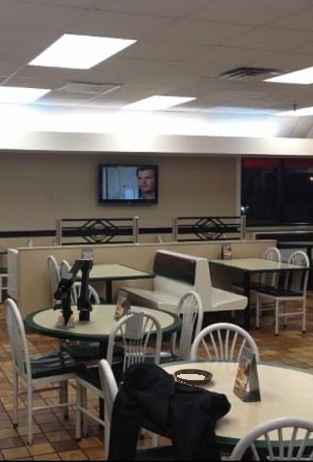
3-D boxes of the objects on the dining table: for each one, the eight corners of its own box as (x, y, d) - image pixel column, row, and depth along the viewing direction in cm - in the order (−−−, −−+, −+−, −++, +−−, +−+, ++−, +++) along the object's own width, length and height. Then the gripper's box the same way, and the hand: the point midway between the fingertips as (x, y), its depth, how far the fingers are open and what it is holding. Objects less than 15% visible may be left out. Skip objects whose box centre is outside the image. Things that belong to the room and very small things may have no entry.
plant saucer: (176, 386, 273) (176, 379, 272) (171, 374, 290) (171, 368, 290) (216, 386, 275) (216, 380, 274) (208, 375, 292) (208, 368, 292)
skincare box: (124, 338, 358) (125, 310, 357) (130, 335, 364) (131, 308, 363) (137, 340, 354) (138, 312, 353) (143, 337, 360) (144, 310, 359)
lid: (73, 324, 386) (73, 315, 386) (76, 328, 375) (76, 319, 375) (54, 324, 383) (54, 315, 382) (56, 328, 372) (57, 319, 371)
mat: (73, 324, 386) (73, 324, 386) (76, 329, 375) (76, 328, 375) (54, 325, 383) (54, 324, 383) (56, 329, 371) (56, 328, 371)
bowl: (72, 321, 397) (72, 315, 397) (74, 324, 388) (74, 318, 387) (57, 321, 394) (57, 315, 394) (59, 324, 385) (59, 318, 385)
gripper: (51, 295, 384) (50, 320, 385) (54, 301, 367) (53, 327, 367) (69, 295, 388) (68, 320, 388) (73, 301, 370) (72, 327, 371)
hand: (65, 323), depth 379 cm, fingers closed on lid, 3 cm apart
